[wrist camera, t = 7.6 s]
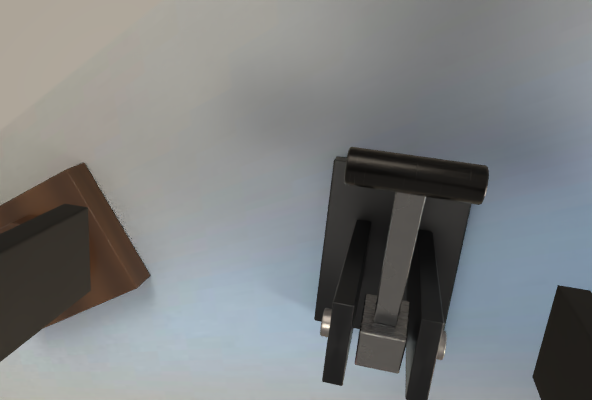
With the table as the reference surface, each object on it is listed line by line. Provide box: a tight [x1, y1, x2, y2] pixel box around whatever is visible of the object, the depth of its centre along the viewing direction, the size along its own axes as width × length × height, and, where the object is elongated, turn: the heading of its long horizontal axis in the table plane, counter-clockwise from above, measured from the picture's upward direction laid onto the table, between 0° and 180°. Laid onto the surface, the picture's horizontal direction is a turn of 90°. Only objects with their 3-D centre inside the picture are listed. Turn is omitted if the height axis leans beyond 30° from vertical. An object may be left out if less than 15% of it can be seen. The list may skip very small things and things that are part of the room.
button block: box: [0, 163, 150, 328], centre depth 40 cm, size 12×10×4 cm
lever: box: [344, 147, 489, 373], centre depth 23 cm, size 12×5×2 cm, turn 174°
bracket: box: [314, 157, 471, 400], centre depth 30 cm, size 12×9×13 cm
